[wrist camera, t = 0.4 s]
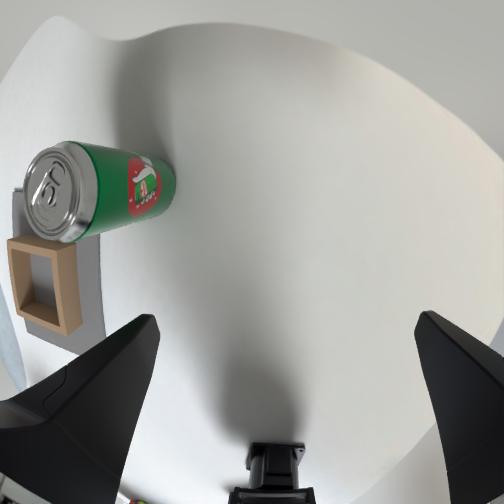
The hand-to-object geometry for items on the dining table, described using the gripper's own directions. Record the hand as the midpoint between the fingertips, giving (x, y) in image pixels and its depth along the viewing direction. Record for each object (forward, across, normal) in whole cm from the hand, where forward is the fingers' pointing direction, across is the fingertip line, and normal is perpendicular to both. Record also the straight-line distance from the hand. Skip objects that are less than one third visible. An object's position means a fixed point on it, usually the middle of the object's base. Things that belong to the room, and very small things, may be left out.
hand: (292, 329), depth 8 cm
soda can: (+15, +10, -2) cm, 18 cm away
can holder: (+13, +24, +6) cm, 28 cm away
